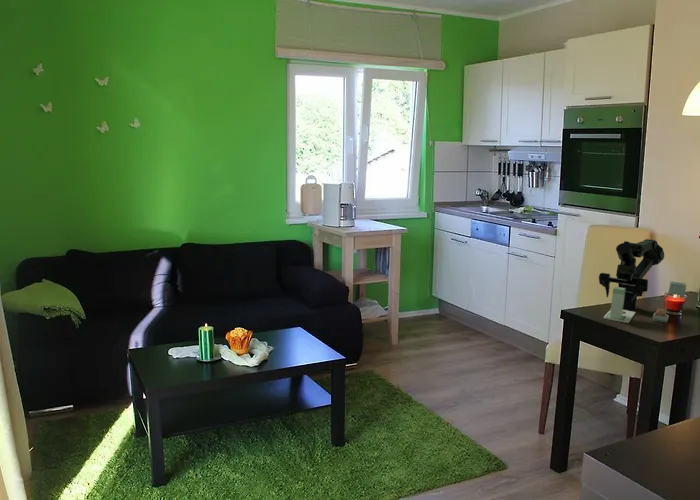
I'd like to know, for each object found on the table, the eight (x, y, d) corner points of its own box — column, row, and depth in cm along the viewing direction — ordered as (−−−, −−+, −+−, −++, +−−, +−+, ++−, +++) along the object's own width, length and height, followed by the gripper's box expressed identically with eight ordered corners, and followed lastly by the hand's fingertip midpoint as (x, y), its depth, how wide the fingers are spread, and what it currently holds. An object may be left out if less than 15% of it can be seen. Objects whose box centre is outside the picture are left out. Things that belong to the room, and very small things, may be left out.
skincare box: (666, 310, 269) (670, 283, 267) (665, 307, 273) (669, 281, 271) (682, 312, 267) (686, 285, 264) (681, 309, 271) (685, 282, 269)
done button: (656, 312, 255) (657, 308, 255) (666, 314, 253) (667, 309, 253) (655, 314, 252) (656, 310, 252) (665, 316, 250) (665, 311, 250)
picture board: (611, 309, 267) (611, 307, 267) (635, 313, 262) (635, 311, 262) (603, 318, 252) (603, 316, 252) (628, 323, 247) (628, 321, 247)
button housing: (654, 317, 257) (654, 312, 256) (667, 320, 254) (668, 314, 254) (652, 320, 253) (653, 315, 252) (666, 323, 250) (667, 317, 249)
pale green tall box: (611, 314, 256) (615, 286, 254) (621, 316, 254) (625, 288, 252) (609, 316, 253) (613, 288, 251) (620, 318, 251) (623, 290, 248)
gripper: (602, 253, 259) (593, 284, 252) (650, 260, 250) (643, 292, 243) (603, 268, 267) (595, 298, 261) (651, 275, 258) (643, 306, 251)
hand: (618, 298), depth 253 cm, fingers open, 9 cm apart
